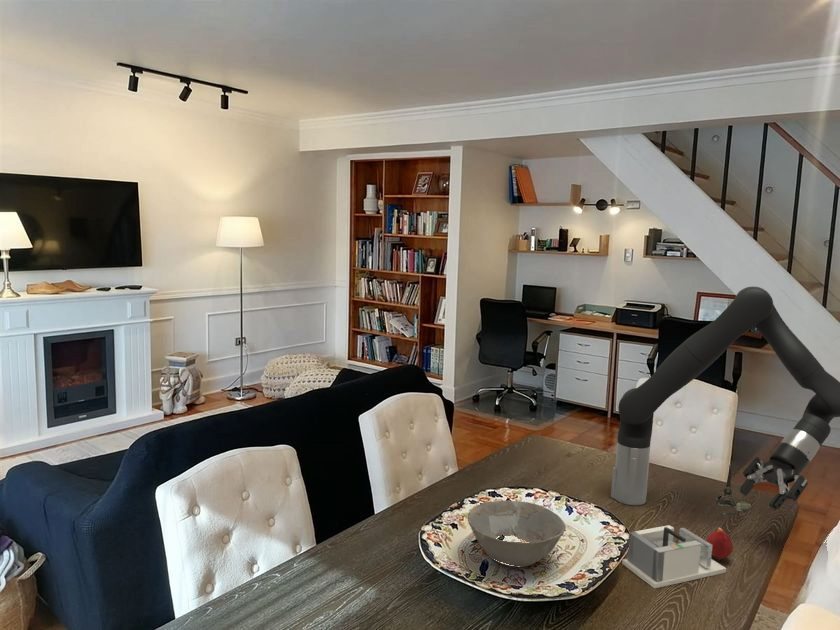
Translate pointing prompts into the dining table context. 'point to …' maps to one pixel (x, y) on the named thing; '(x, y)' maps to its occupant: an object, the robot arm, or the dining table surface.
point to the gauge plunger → (687, 537)
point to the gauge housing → (666, 559)
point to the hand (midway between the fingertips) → (756, 500)
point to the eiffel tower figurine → (730, 497)
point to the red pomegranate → (720, 544)
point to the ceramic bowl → (516, 530)
